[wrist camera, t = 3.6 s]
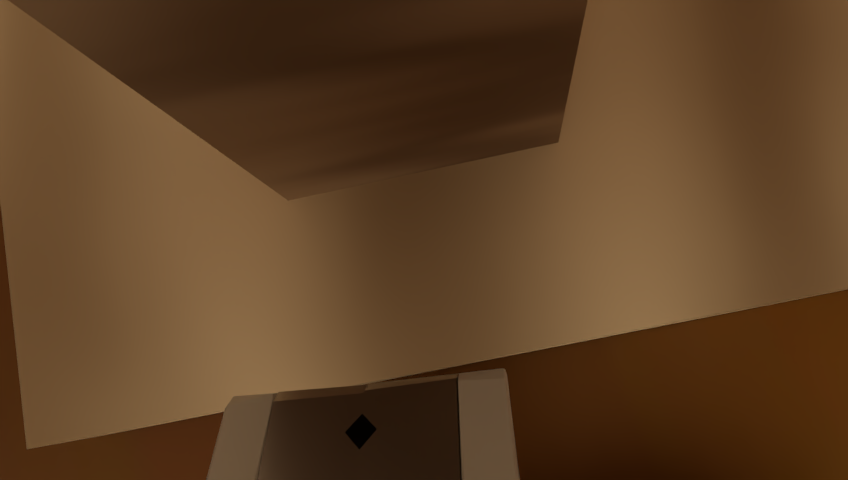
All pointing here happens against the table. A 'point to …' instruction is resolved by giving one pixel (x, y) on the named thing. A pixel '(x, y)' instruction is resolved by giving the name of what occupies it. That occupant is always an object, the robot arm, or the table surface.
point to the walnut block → (338, 78)
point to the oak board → (416, 222)
